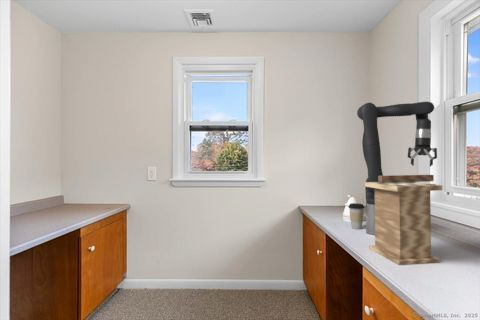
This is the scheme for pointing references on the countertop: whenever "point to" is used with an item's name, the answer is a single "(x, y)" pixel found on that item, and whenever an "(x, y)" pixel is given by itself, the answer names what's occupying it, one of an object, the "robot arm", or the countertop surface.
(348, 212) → the honey pot
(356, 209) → the coffee cup
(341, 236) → the countertop surface
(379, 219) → the oak lectern
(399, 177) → the walnut bar
